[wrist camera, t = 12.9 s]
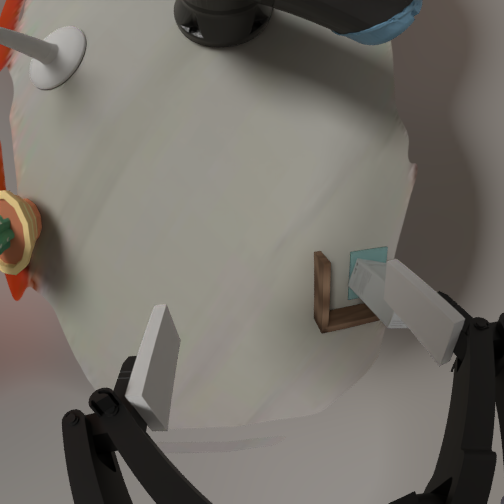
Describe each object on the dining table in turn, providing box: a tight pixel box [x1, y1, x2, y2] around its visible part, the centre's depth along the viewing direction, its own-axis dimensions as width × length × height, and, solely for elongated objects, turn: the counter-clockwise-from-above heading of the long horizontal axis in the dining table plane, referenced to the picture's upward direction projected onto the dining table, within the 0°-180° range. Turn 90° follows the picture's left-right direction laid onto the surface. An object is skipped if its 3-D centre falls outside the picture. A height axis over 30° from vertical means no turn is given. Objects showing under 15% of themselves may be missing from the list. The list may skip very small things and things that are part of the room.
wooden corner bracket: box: [314, 251, 380, 333], centre depth 48 cm, size 14×16×5 cm
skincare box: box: [348, 258, 408, 328], centre depth 43 cm, size 8×6×15 cm
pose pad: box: [348, 247, 388, 300], centre depth 50 cm, size 10×8×1 cm
